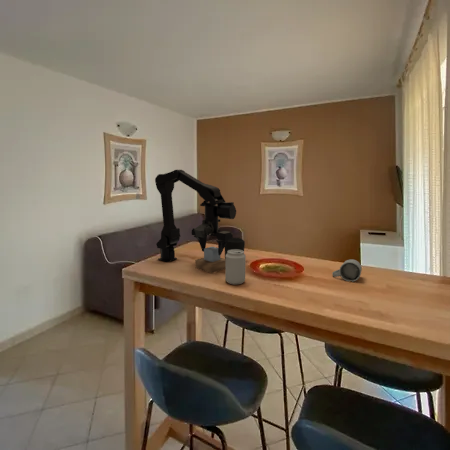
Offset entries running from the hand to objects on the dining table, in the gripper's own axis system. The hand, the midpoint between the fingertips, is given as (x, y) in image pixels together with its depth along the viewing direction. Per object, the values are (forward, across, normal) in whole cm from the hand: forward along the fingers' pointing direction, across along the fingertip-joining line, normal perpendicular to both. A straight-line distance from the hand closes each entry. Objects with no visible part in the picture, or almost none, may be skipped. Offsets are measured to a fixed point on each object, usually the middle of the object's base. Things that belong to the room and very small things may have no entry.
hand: (211, 253), depth 130 cm
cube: (+3, 0, 0) cm, 3 cm away
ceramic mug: (+7, +49, +24) cm, 56 cm away
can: (+7, +18, -7) cm, 20 cm away
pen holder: (+7, +1, +15) cm, 16 cm away
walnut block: (+7, 0, 0) cm, 7 cm away
